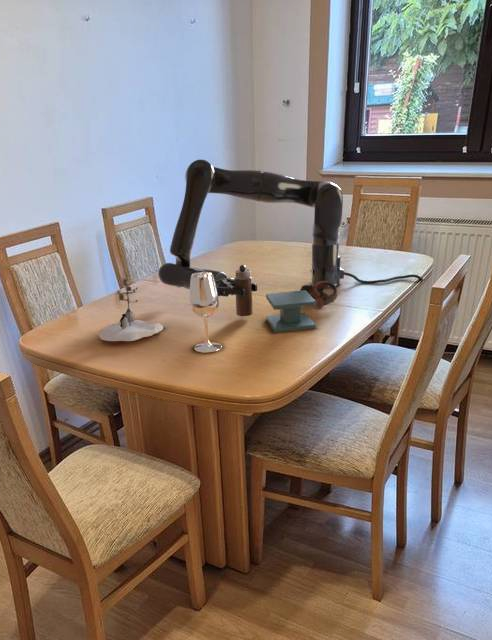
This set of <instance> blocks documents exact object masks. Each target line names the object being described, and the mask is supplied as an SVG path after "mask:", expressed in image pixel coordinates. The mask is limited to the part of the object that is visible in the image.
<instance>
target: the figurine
mask: <svg viewBox="0 0 492 640" xmlns="http://www.w3.org/2000/svg"><path fill="white" fill-rule="evenodd" d="M121 282H122V286H124V288H125V291H126V292H121V290H117V293H116V295H118V300H119V301H126V302H127V309H126V311H125V313H123V314H121V317H120V319H119V323H113V324H111V325H108V326H107V327H106V328H104V329H103V330H101V331H100V332H99V333H98V336H99V339H100V340H101V341H106V342H134V341H138V340H140V339H142V338H147V337H151V336H153V335H155V334H159V332H161V331H163V330H164V327H163V325H162V324H161V323H159V322H158V321H144V320H140V319H135V317H134V316H136V314H134V312H132V311H131V309H130V304H135V303H139V300H138V299H135V301H134V302H133V301H131V300H130V297H129V295H132V294H135V293H136V291H137V290H138V289H139V287H138V286H137V287H135V288H134V289H132V287H131V286H130V285H131V280H128V279H127V278H126V277H125V278H122V280H121ZM125 297H127V299H126V298H125Z"/></svg>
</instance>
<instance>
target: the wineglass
mask: <svg viewBox="0 0 492 640" xmlns="http://www.w3.org/2000/svg"><path fill="white" fill-rule="evenodd" d="M188 293H189V295H188V301H189V302H188V303H189V307H190V309H191V311H192V313H193V314H194V315H195V316H197V317H199V318H201V319H202V320H203V324H204V333H205V342H200V343H198V344H196V345H195V346H194V349H193V350H194V351H196V352H198V353H203V354H209V353H215V352H218V351H220V350H221V349H222V344H221V343H219V342H216V341H210V339H209V328H208V326H209V325H208V320H209V318H211V317H212V316H213V315H214V314H215V313H216V312H217V311H218V309H219V305H220V298H219V296H218V292H217V288H216V284H215V281H214V277H213V274H212V273H210V272H198V273H194V274H192V275H191V282H190V290H189V292H188Z"/></svg>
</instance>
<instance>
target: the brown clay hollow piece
mask: <svg viewBox="0 0 492 640" xmlns="http://www.w3.org/2000/svg"><path fill="white" fill-rule="evenodd" d="M328 286H330V288H331V290H333V293H331V294H328V293H326V292H324V290H325V289H327V288H326V287H328ZM301 290H306V291H307V292H308V294H309V295H310V296H311V297H312V298H313V299H314V300H315V301H317V302H316V305H315V307H316V308H318V309H322V308H323V307H325V306H328V305H330V304H332V303H334V302H335V301H336V300H337V298H338V289H337V286H335V285H334V284H333V283H331V282H328V281H319V282H317V283H316V284H315V285H314V286H312V285H309V284H304V285H302V286H301V287H300V289H299V291H301Z"/></svg>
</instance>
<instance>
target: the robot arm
mask: <svg viewBox="0 0 492 640" xmlns="http://www.w3.org/2000/svg"><path fill="white" fill-rule="evenodd" d="M184 180H185V191H184V197H183V198H184V199H183V202H182V207H181V210H180V213H179V216H178V218H177V222H176V224H175V228H174V231H173V235H172V238H171V243H170V247H169V253H170V255H172V256H173V257H175V263H173V262H165V263H164V264H162V265H161V266H160V267H159V268H158V278H159V280H160V282H161V283H162V284H164V285H166V286H170V287H175V288H180V289H181V288H184V289H187V290H189V291H190V282H191V275H192V274H194V273H198V272H210V273H212V274H213V277H214V281H215V284H216V288H217V292H218V297H227V298H228V297H229V296H236V295H239V296H245V289H244V288H239V287H235V278H233V277H227V275H226V274H225V272H223V271H220V270H213V269H208V268H197V267H191V255H192V250H193V247H194V243H195V239H196V235H197V230H198V227H199V222H200V217H201V214H202V210H203V207H204V203H205V201H206V199H207V196H208V194H218V195H219V194H220V195H228V196H232V197H234V198H238V199H242V200H247V201H252V202H256V203H262V204H263V203H264V204H271V205H282V204H283V205H284V204H295V205H296V204H297V205H301V206H306V207H309V208H313V209H314V213H313V214H314V216H313V217H314V218H313V225H312V226H311V267H310V269H309V270H310V271H309V272H310V273H311V277H310V278H311V279H310V280H311V282H310V286H312V287H313V286H314V285H315V284H316V283H317V282H319V281H328V282H331V283H333V284H334V285H335V286H336V287H338V286H340V285H341V283H340V282H341V280H343V279H344V278H345V276H348V277H350V278H353V279H354V280H355V281H356V282H358V283H360V284H380V283H387V282H390V281H395V280H401V279H402V280H403V279H408V278H416V279H417V280H419V281H424V278H423V277H421V276H420V275H418V274H406V275H398V276H393V277H389V278H385V279H376V280H363V279H359V278H358V277H357V275H354V274H353V273H349V272H346V271H345V269H344V268H343V267H341V257H340V232H341V231H340V230H341V226H342V221H343V208H344V207H343V206H344V205H343V204H344V196H343V192H342V189H341V188H340V187H339V185H337V184H335V183H333V182H331V181H328V180H304V179H298V178H294V177H291V176H288V175H284V174H279V173H276V172H270V171H264V170H257V169H238V170H236V169H234V170H232V169H231V170H230V169H225V168H224V169H223V168H220V167H216V166H214V165H212V164H211V163H210V162H209V161H208V160H205V159H200V158H199V159H196V160H193V161H192V162H190V164H189V165H188V166H187V168H186V170H185V175H184ZM328 288H331V287H330V286H328V287H326V288H325V289H328ZM257 291H258V284H257V283H254V282H252V292H257Z"/></svg>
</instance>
